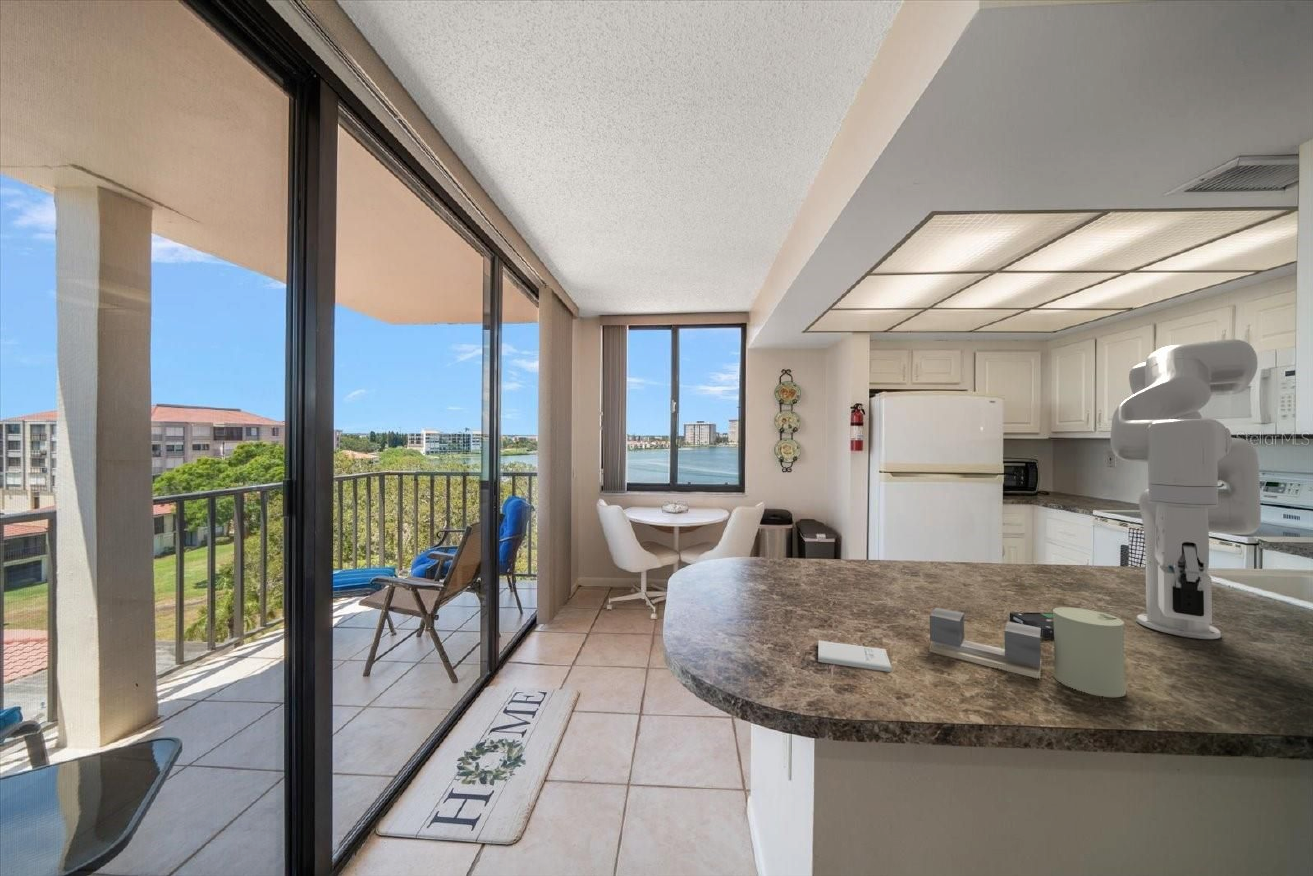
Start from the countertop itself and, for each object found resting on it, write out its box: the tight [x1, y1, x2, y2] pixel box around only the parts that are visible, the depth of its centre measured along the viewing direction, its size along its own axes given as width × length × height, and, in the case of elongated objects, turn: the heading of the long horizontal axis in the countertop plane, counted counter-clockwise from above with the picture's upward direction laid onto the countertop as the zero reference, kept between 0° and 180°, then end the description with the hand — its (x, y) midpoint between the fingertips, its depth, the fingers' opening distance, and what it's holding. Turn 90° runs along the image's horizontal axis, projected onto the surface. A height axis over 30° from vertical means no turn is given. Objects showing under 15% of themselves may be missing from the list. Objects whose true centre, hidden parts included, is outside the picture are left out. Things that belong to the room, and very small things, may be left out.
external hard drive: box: [817, 640, 892, 673], centre depth 91 cm, size 2×8×12 cm
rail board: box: [929, 607, 1042, 680], centre depth 91 cm, size 7×17×7 cm, turn 50°
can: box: [1052, 606, 1127, 698], centre depth 81 cm, size 9×9×12 cm
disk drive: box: [1009, 611, 1054, 640], centre depth 105 cm, size 10×3×15 cm
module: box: [1158, 565, 1213, 625], centre depth 76 cm, size 6×5×7 cm
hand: (1183, 607), depth 76 cm, fingers closed on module, 6 cm apart
